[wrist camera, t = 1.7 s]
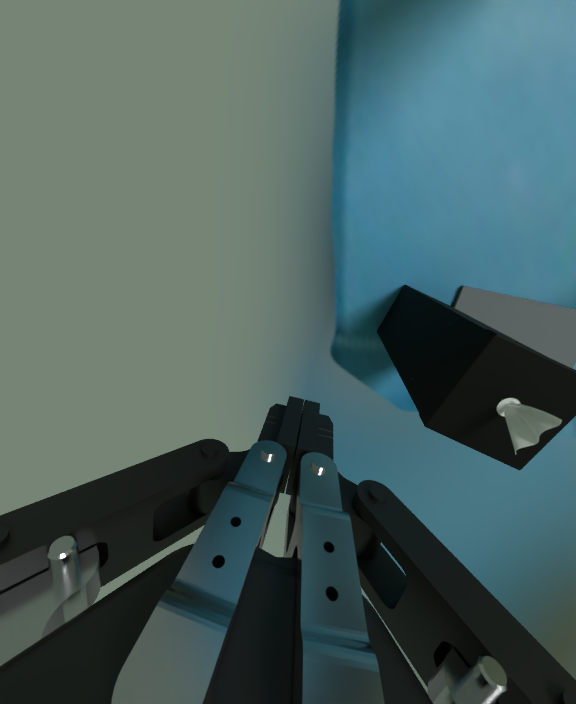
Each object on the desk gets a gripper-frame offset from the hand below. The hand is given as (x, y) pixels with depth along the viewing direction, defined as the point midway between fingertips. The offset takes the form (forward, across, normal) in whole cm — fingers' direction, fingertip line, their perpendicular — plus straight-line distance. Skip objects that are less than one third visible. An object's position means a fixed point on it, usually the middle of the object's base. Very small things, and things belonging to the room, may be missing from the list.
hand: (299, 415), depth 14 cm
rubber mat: (+32, -28, 0) cm, 42 cm away
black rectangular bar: (+32, -14, 0) cm, 35 cm away
